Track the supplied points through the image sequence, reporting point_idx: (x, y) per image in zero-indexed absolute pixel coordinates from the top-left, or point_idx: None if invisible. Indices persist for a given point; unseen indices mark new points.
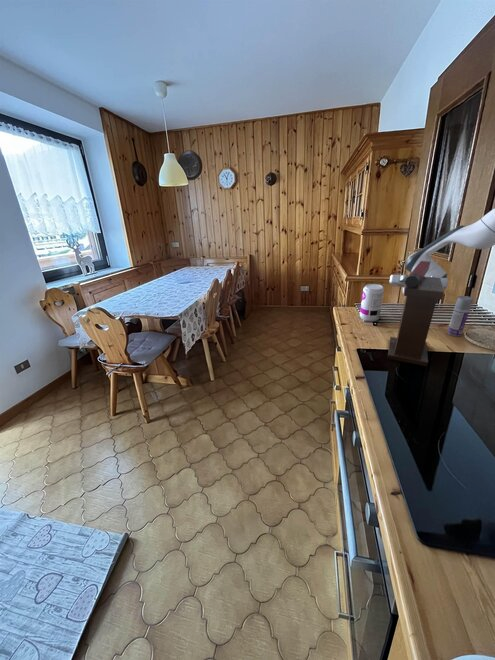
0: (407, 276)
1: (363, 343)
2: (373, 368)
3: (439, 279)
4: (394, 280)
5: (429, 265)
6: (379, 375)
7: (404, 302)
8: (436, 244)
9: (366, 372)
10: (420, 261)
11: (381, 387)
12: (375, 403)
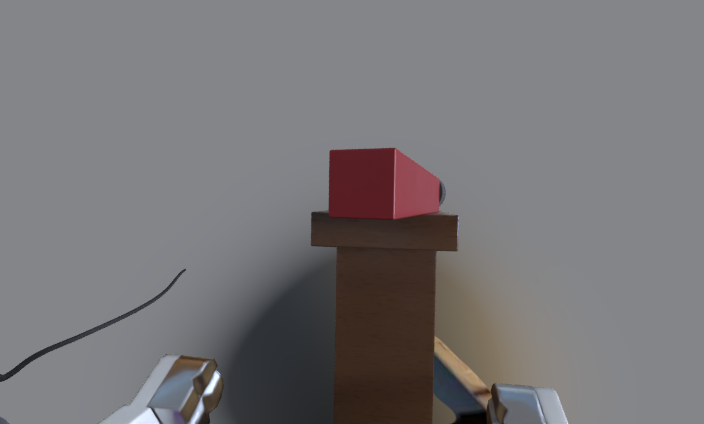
0: (450, 214)
1: None
2: (466, 418)
3: (322, 211)
4: None
5: (331, 179)
6: (445, 402)
7: (434, 313)
8: None
9: (476, 406)
10: (399, 151)
11: (434, 380)
12: (435, 358)
